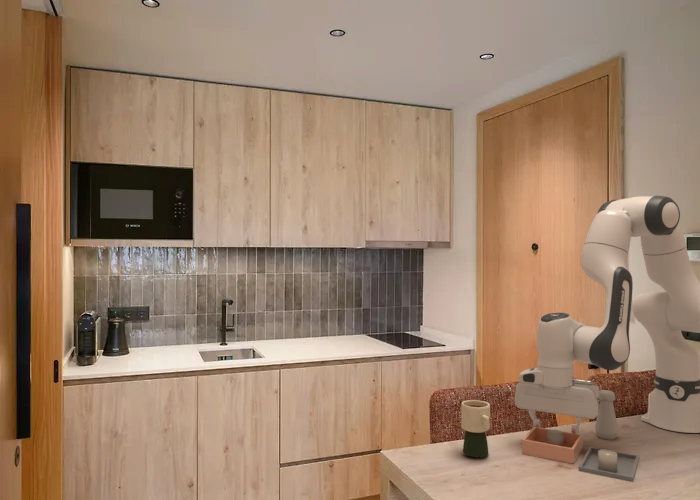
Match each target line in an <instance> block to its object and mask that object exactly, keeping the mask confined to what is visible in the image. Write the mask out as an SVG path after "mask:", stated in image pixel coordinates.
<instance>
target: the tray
mask: <svg viewBox="0 0 700 500" xmlns="http://www.w3.org/2000/svg"><path fill="white" fill-rule="evenodd" d="M599 450H606V449H604V448H600V447H593V446H589V447H588V449H587V451H586V453H585V454H584V456H583V458H582V460H581V462H580V463H579V465H578V472H583V473H587V474H592V475H598V476H602V477H607V478H612V479H617V480H621V481H627V482H631V483H634V479H635V476H636V472H637V469H638V465H639V462H640V455H638V454H637V455H636V454H633V453H632V454H631V453H627V452H621V451H617V450H613V451H614V452H616V453H617V472H616V473H612V472H607V471H602V470H599V469H598V451H599Z"/></svg>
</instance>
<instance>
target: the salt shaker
mask: <svg viewBox="0 0 700 500" xmlns="http://www.w3.org/2000/svg"><path fill="white" fill-rule="evenodd" d="M597 399H598V400H599V401H600V402H599V405H598V409H599V413H598V416H597V417H596V422H595V426H594V430H595V433H596V435H597V438H598V437H599V438H600V439H603V440H615V439H616V438H617V437H618V435H619V426H618V421H617V418H616V416H617V415H616V412H615V410H616V409H615V407H614V401H615V400H616V394H615V392H614V391H612V390H607V389H599V397H598V398H597Z"/></svg>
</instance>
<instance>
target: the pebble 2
mask: <svg viewBox="0 0 700 500" xmlns="http://www.w3.org/2000/svg"><path fill="white" fill-rule="evenodd" d="M614 451H615V450H612V449H611V450H610V449H605V450H599V451H598V469H599V470H602V471H607V472H612V473H616V472H617V453H616V452H617V451H616V452H614Z"/></svg>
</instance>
